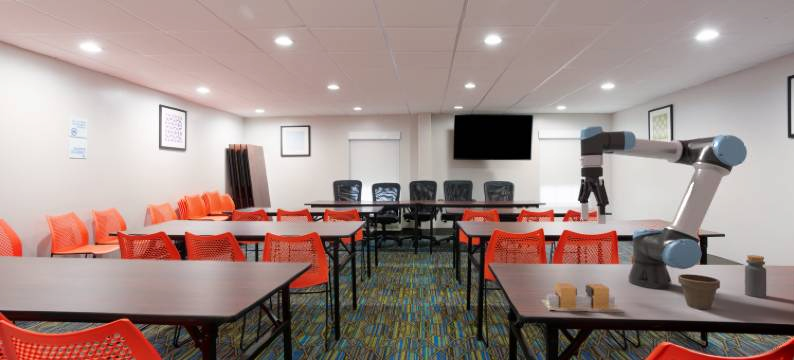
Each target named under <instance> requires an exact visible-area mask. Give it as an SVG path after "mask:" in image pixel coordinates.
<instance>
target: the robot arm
mask: <svg viewBox="0 0 794 360" xmlns="http://www.w3.org/2000/svg"><path fill="white" fill-rule="evenodd" d="M579 135H580V137H579V140H580V158H579V160H580V165H581V168H580V176H581V178H582V179H581V180H580V186H579V187H580V188H579V192H578V198H577V202H579V204H580V220H581V221H582V220H585V221H586V220H589V218H590V217H589V199H590V196H591V193H592V194H593V196H594V198H595V201H596V224H597V225H606V220H607V219H606V206H608V205H610V202H609V197H608V193H607V190H606V186H605V179H604V178H601V177H603V176H604V168H603V165H604V158H603V157H604V155H605V154H606V155H617V156H628V157H638V158H647V159H654V160H655V159H657V160H658V159H659V160H666V161H667V162H668V163H673V164H680V165H686V166H691V167H693V168H694V172H693V175H692V176H691V179H690V181H689V183H688V185H687V187H686V190H685V192H684V194H683V197H682V199H681V201H680V203H679V205H678V208H677V210H676V213H675V214H674V217H673V219H672V221H671V223H670V225H667V226H665V227H663V229H636V230H634V231H633V234H632V243H633V244H632V258H633V260H632V262H633V263H632V266H631V269H630V271H629V274H628V282H629V283H631V284H633V285H636V286H639V287H643V288H648V289H649V288H650V289H669V288H672V287H673V286H672V278H671V276H670V274H669V271H668V268H667V267H670V268H674V269H679V270H687V269H691V268H692V267H695V266H696V265H698V263H699V262H700V260H701V258H702V255H703V253H702V251H703V250H702V249H701V245H700V244H699V243H700V240H701V239H700V237H699V236H698V233H699V230H700V228H701V226H702V224H703V222H704V219H705V217H706V215H707V213H708V210H709V209H710V206H711V204H712V202H713V199H714V198H715V195H716V193H717V190H718V188H719V186H720V184H721V182H722V180H723V178H724V177H727V176H728V175H730V174H731V172H732V169H733V168H734V167H736V166H738V165H741V164H743V163H744V161H745V160H746V158H747V154H748V151H747V147H746V146H745V143H744V141H743V140H742V139H741V138H740V137H737V136H735V135H732V134H729V135H728V134H725V135H724V134H720V135H716V136H708V137H699V138H694V139H685V140H683V139H681V140H680V139H673V140H671V141H664V140H655V139H645V138H644V139H643V138H636V135H635V134H634V132H632V131H628V130H627V131H625V130H623V131H617V130H616V131H604V129H603V127H602V126H599V125H595V126H594V125H592V126H591V125H590V126H585V127H582V128H581V129H580V134H579Z"/></svg>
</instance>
